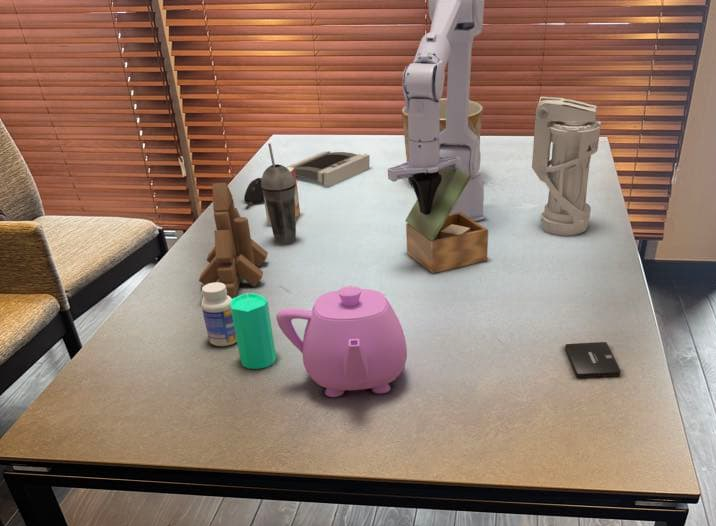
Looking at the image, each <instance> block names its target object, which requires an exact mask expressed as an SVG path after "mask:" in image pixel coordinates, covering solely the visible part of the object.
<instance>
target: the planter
mask: <svg viewBox="0 0 716 526" xmlns="http://www.w3.org/2000/svg"><path fill="white" fill-rule="evenodd" d="M446 107H447V97H443V98H442V97H441V99H440V100H439V133H440V132H442V131H443V130H444V129H445V128H446ZM483 110H484V107H483V105H482V104H480V103H479V102H477V101H474V100H470V99H469V112H468V128H469V129H470V130H471V131H472V132H473V133H474V134H475V135H476V136H477V137H478V138H479V141H480V142H481V133H482V132H481V131H482V121H483ZM401 116H402V117H401V118H402V127H403V138H404V146H405V147H404V148H405V158H406V162H409V129H408V111H406V108H405V106H403V107H402V109H401ZM444 144H446V145H466V144H454V143H444ZM466 146H468V145H466Z"/></svg>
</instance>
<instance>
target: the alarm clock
mask: <svg viewBox="0 0 716 526" xmlns="http://www.w3.org/2000/svg"><path fill="white" fill-rule="evenodd" d="M286 167H294V168H295V172H296V177H303V178H308V179H311V180H315V181H317V183H321V184H323V187H326V188H330V187H331V186H334V185H336V184H338V183H340V182H341V183H342V182H343V181H345V180H347V179H349V178H351V177H354V176H356V175H358V174H361V173H363V172H365V171H367V170H369V169H370V154H368V153H365V154H360V153H359V154H357V153H353V152H346V151H334V152H333V151H332V152H331V151H322V152H319V153H316V154H315V155H312V156H310V157H307V158H304V159H303V160H300V161H297V162H294V163H292V164H290V165H288V166H286Z"/></svg>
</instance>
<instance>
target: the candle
mask: <svg viewBox="0 0 716 526" xmlns="http://www.w3.org/2000/svg"><path fill="white" fill-rule="evenodd" d="M230 307H231V312H232V317H233V323H234V328H235V333H236V338H237V342H236V344H237V349H238V352H239V358H240V363H241V365H242V366H243V367H245V368H247V369H254V370H259V369H265V368H268V367H270V366H271V365H274V364H275V363H276V361H277V354H276V348H275V347H276V346H275V341H274V335H273V328H272V322H271V315H270V309H269V303H268V300H267V298H266V297H265V296H263V295H260V294H258V293H253V292H246V293H243V294H239V295H238V296H237V295H236V297H235V298H233V299H232V300H231V302H230Z"/></svg>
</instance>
